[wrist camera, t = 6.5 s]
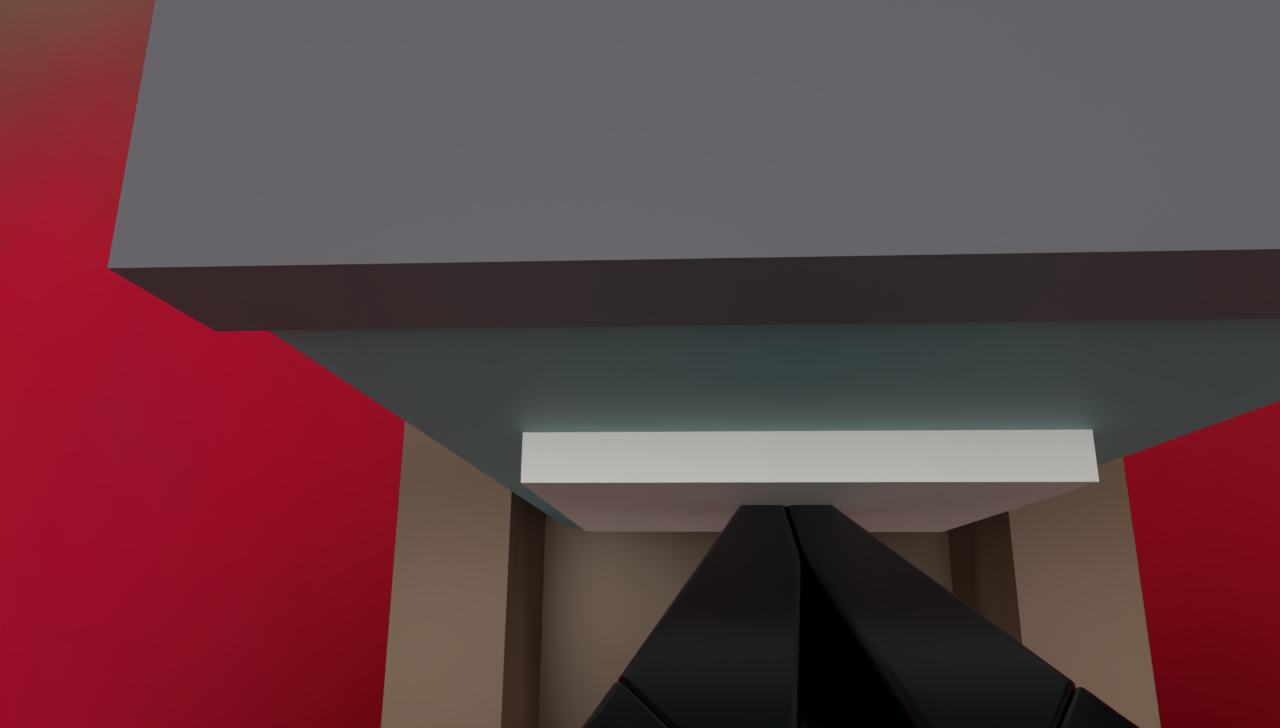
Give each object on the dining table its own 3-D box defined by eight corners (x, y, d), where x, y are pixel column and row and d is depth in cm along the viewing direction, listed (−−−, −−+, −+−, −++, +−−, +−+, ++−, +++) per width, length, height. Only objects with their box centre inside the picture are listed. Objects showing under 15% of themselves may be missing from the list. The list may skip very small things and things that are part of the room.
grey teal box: (935, 551, 15) (1867, 322, 3) (559, 551, 15) (91, 342, 3) (906, 189, 16) (1425, -839, 5) (570, 196, 17) (289, -745, 5)
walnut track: (1099, 933, 14) (1251, 1055, 10) (415, 914, 15) (317, 1022, 11) (1010, 173, 18) (1099, 50, 14) (464, 184, 18) (402, 70, 14)
